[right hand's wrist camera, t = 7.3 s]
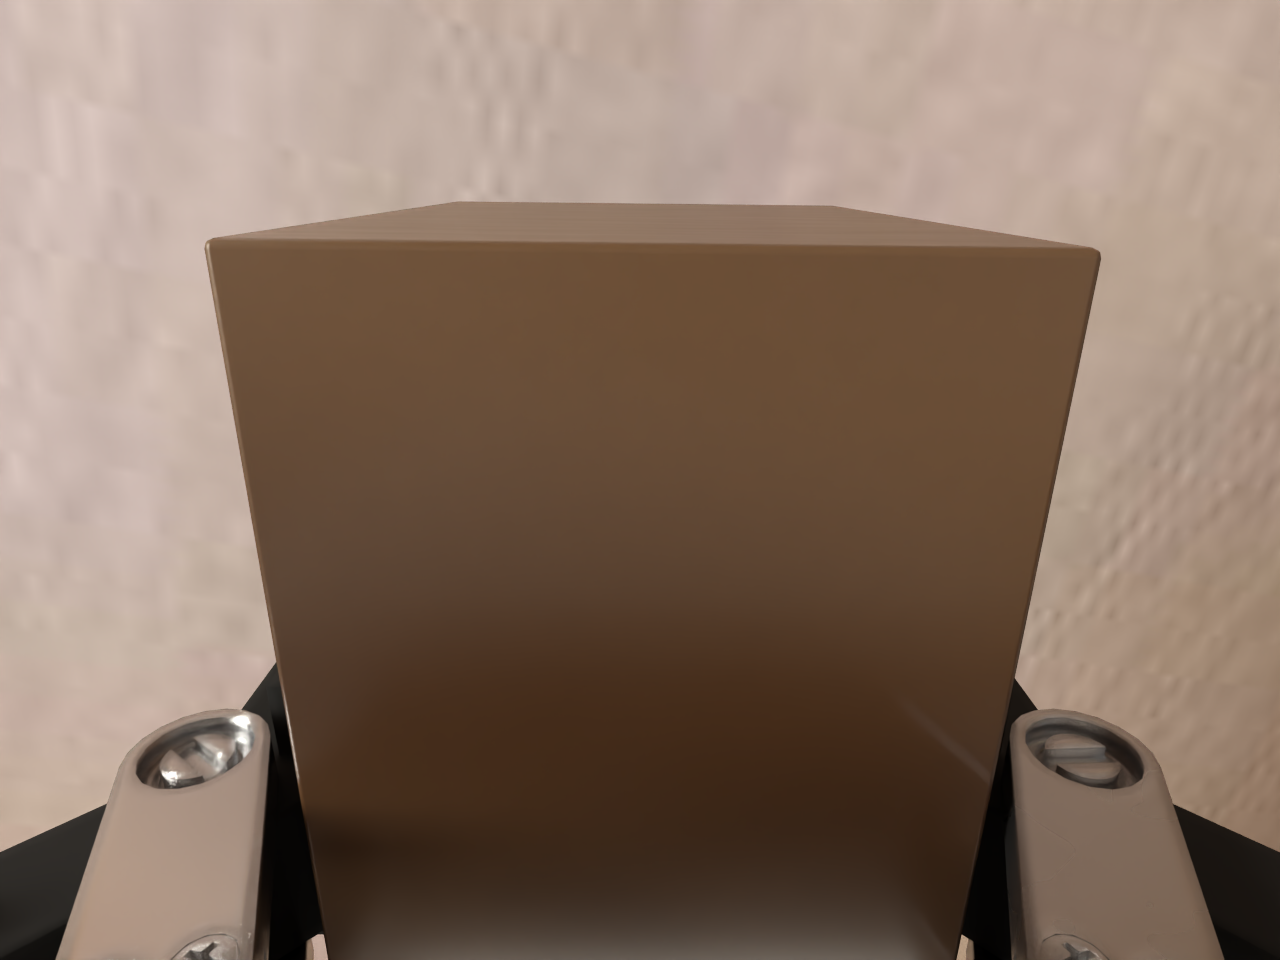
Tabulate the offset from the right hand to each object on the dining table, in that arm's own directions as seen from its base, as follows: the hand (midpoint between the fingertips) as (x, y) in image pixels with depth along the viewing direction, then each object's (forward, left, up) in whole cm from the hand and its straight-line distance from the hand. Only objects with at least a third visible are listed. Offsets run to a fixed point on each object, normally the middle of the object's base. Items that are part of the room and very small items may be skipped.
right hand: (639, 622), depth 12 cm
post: (+27, -5, -3) cm, 28 cm away
